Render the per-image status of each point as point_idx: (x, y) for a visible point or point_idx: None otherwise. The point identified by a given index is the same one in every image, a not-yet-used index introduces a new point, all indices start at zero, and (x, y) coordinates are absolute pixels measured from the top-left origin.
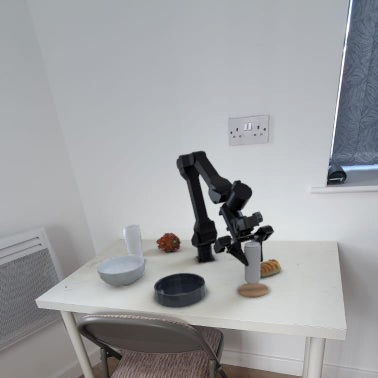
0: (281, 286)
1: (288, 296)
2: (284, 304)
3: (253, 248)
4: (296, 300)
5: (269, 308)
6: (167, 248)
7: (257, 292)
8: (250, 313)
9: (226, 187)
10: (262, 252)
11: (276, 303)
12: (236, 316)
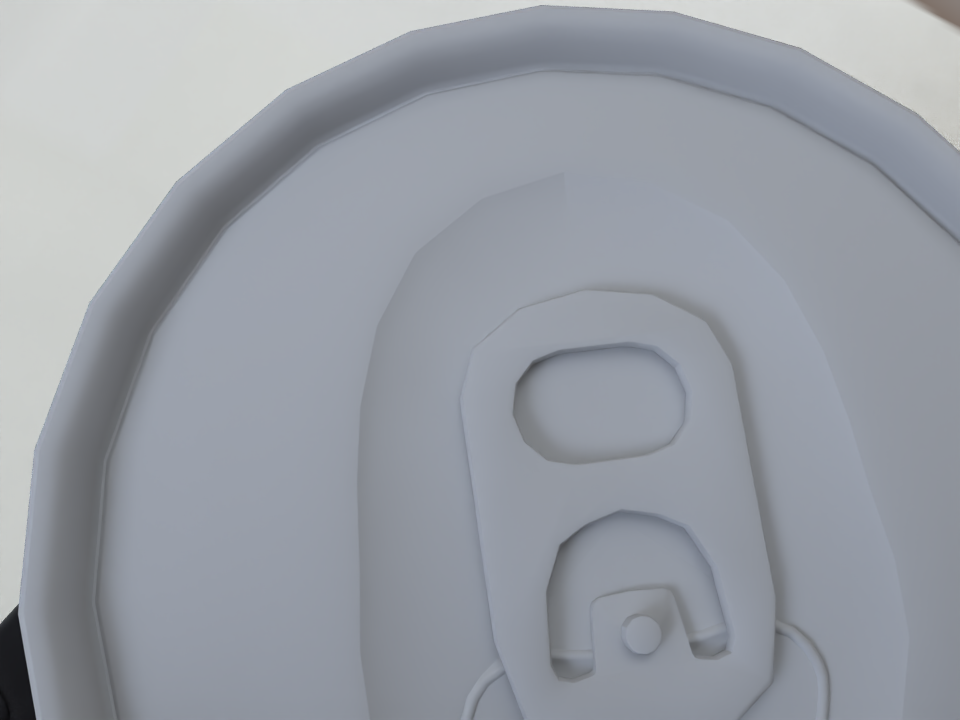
0: (3, 447)
1: (100, 145)
2: (264, 3)
3: (714, 96)
4: (76, 16)
5: (471, 5)
6: None
7: None
8: (714, 10)
9: None
10: None
11: (337, 64)
12: (877, 25)
